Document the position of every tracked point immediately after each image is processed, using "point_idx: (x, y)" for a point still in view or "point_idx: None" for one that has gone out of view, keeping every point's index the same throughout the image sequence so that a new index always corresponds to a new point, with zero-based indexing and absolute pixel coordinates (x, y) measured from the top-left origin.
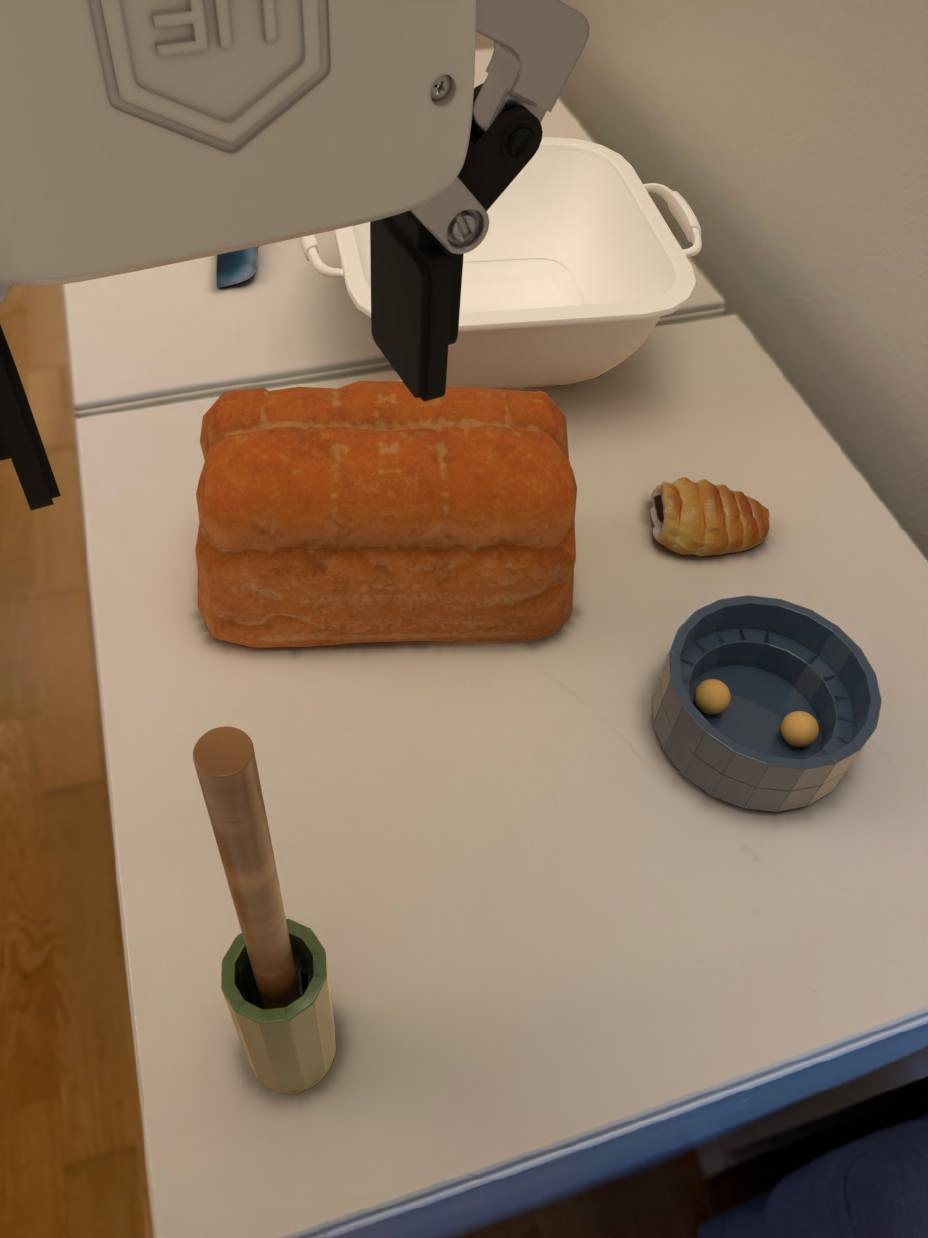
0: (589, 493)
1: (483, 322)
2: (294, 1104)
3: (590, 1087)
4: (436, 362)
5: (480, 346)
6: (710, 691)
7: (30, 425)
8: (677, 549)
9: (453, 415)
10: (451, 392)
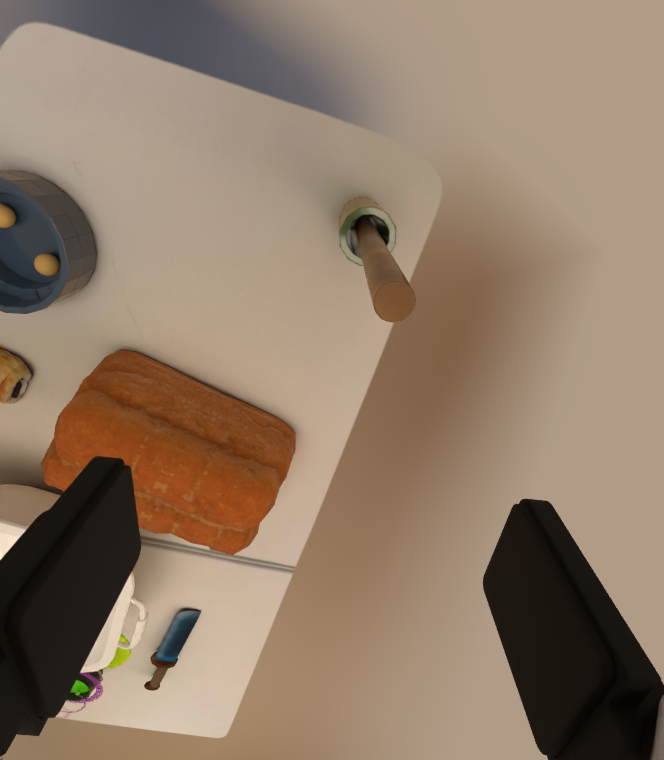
0: None
1: None
2: (373, 194)
3: (236, 106)
4: (81, 491)
5: None
6: (46, 266)
7: (567, 584)
8: (19, 361)
9: None
10: None
